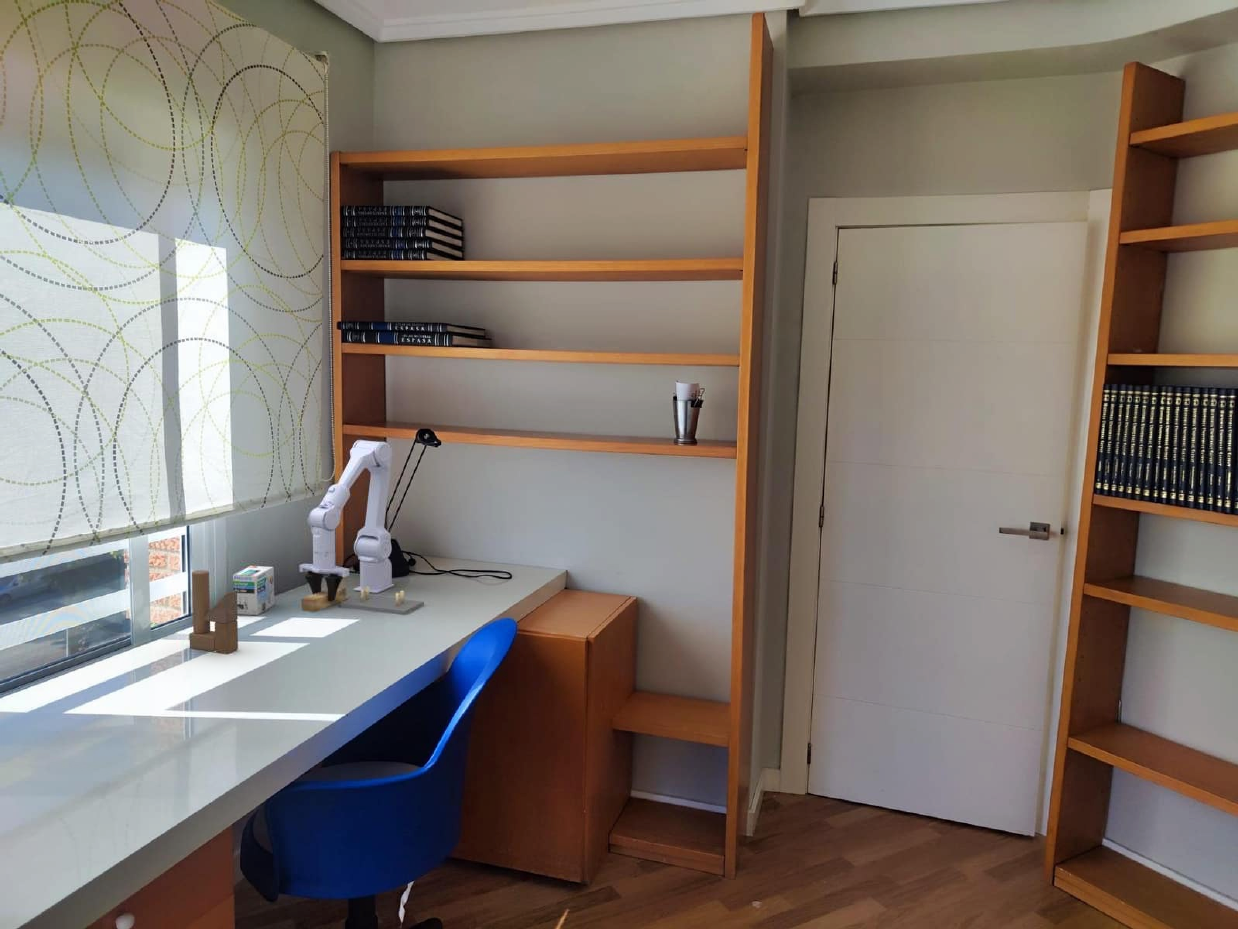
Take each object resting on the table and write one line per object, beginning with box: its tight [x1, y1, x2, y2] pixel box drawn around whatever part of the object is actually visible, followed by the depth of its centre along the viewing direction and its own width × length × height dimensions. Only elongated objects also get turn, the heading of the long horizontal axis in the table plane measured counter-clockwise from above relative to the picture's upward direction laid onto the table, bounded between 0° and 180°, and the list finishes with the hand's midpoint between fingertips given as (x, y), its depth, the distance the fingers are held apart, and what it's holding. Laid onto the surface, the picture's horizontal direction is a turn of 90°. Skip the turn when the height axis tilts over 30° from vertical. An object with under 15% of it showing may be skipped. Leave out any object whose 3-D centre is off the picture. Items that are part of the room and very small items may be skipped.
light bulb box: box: [232, 565, 275, 616], centre depth 227 cm, size 11×7×11 cm, turn 179°
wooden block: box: [189, 569, 239, 655], centre depth 195 cm, size 4×11×18 cm, turn 73°
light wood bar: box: [301, 586, 347, 613], centre depth 234 cm, size 14×4×4 cm, turn 162°
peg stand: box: [339, 586, 425, 616], centre depth 234 cm, size 10×20×4 cm, turn 73°
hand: (324, 599), depth 234 cm, fingers open, 4 cm apart
